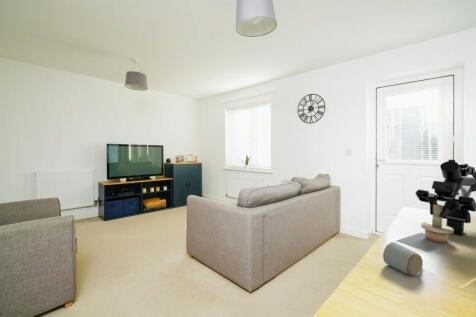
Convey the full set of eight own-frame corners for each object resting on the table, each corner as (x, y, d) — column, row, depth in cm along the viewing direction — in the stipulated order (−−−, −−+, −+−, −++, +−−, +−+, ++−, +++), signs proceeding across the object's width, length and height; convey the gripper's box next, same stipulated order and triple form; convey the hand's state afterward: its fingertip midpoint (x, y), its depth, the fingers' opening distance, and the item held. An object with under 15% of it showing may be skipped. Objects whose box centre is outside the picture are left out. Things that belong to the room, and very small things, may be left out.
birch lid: (427, 223, 99) (428, 201, 99) (457, 230, 91) (459, 206, 90) (416, 227, 95) (417, 204, 94) (447, 235, 86) (448, 210, 85)
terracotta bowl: (430, 235, 98) (430, 227, 97) (451, 241, 91) (451, 232, 91) (421, 238, 94) (421, 229, 94) (442, 245, 88) (443, 235, 88)
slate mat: (421, 233, 101) (421, 232, 101) (453, 243, 91) (453, 241, 91) (395, 242, 92) (395, 240, 92) (427, 253, 82) (427, 252, 82)
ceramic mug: (408, 279, 66) (410, 254, 66) (381, 266, 74) (383, 243, 73) (430, 272, 70) (431, 249, 70) (402, 260, 78) (403, 238, 77)
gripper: (418, 171, 101) (403, 198, 97) (475, 177, 84) (459, 209, 81) (427, 187, 105) (412, 213, 101) (483, 195, 88) (468, 227, 84)
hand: (435, 215), depth 92 cm, fingers closed on birch lid, 3 cm apart
